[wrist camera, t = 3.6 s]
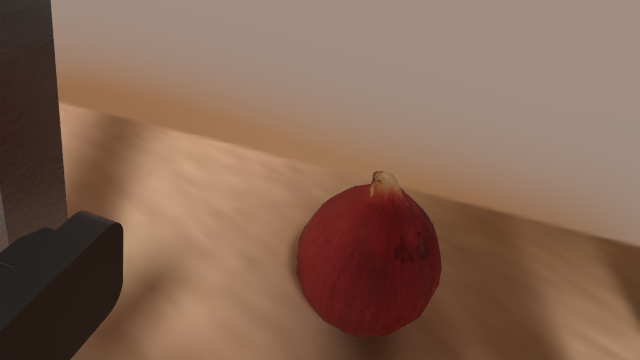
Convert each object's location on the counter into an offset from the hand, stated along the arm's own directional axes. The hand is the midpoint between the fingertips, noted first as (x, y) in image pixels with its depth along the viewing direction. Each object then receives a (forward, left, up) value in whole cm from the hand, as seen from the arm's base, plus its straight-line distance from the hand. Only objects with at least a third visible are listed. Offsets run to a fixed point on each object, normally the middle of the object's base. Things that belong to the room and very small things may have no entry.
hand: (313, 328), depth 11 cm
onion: (0, -11, -12) cm, 16 cm away
